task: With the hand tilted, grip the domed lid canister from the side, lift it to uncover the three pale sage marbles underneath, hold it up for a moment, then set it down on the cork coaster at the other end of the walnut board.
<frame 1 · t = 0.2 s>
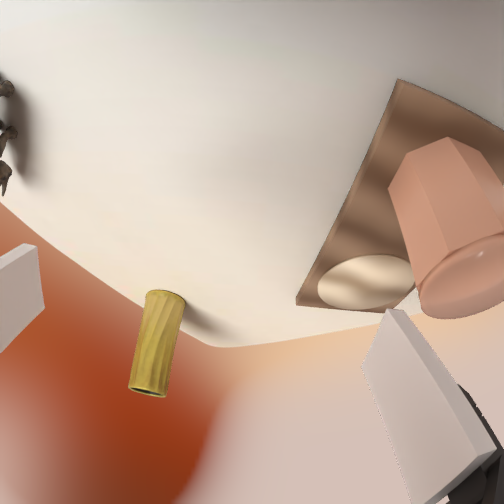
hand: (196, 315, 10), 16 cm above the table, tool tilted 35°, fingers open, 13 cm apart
rhino figurine: (6, 124, 20), on the table
board: (396, 233, 29), on the table
coaster: (367, 284, 34), resting on board
domed lid canister: (439, 184, 21), point 1 cm above the table, touching board
vase: (166, 298, 44), on the table
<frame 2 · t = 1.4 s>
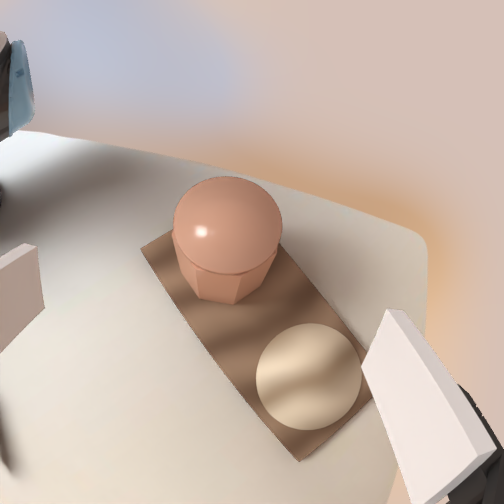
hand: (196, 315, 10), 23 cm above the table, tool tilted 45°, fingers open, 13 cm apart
board: (264, 322, 34), on the table
coaster: (311, 377, 31), resting on board
domed lid canister: (223, 263, 35), point 1 cm above the table, touching board
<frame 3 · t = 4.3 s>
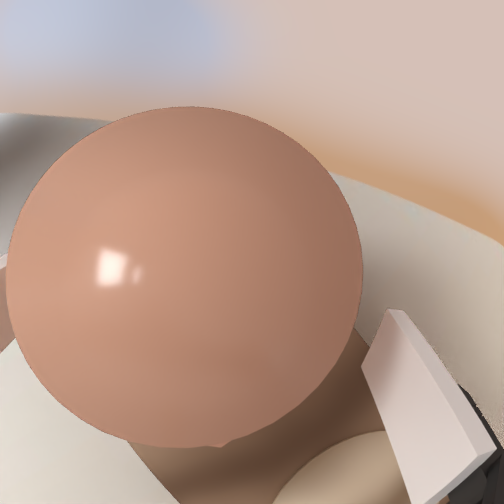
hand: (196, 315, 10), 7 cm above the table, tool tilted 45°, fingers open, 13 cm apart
board: (281, 434, 15), on the table
domed lid canister: (194, 321, 16), point 1 cm above the table, touching board
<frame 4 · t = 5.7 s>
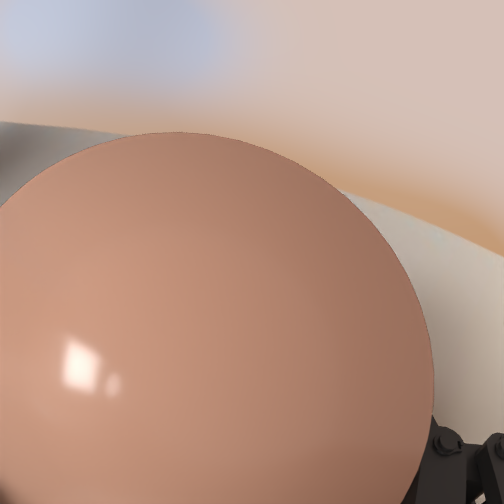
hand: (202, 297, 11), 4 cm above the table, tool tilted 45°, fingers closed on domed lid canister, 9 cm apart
domed lid canister: (193, 382, 13), point 1 cm above the table, touching board, gripper
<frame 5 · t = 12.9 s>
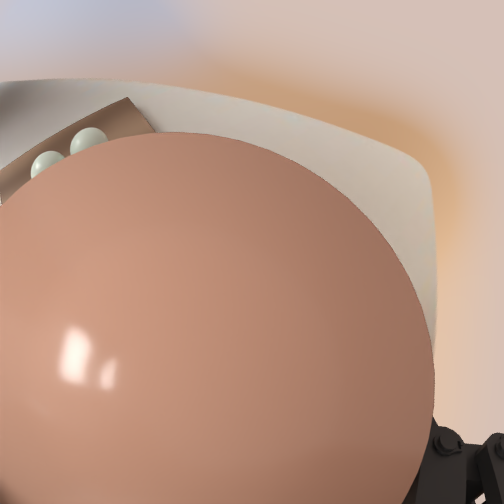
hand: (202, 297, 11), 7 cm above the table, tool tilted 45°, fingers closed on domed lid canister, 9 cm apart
board: (126, 272, 18), on the table
domed lid canister: (193, 382, 13), point 4 cm above the table, touching gripper
marble c: (49, 171, 18), point 3 cm above the table, touching board
marble b: (89, 147, 19), point 3 cm above the table, touching board
when the fingers open (6 cm above the table, at t = 13.7 s): domed lid canister drops 1 cm, resting on coaster.
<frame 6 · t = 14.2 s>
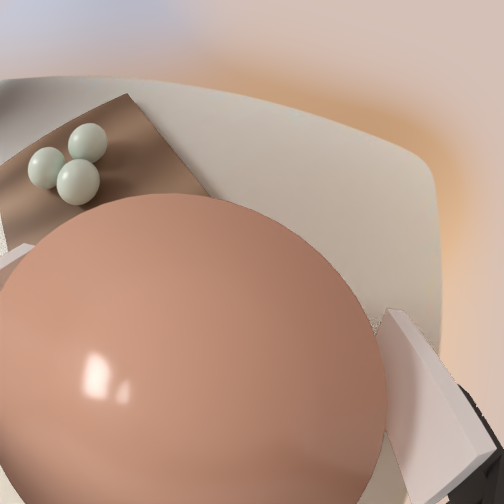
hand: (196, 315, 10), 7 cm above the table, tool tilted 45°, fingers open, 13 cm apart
board: (124, 270, 18), on the table
marble a: (78, 182, 17), point 3 cm above the table, touching board
domed lid canister: (193, 391, 14), point 2 cm above the table, touching coaster
marble c: (46, 168, 17), point 3 cm above the table, touching board
marble b: (87, 143, 18), point 3 cm above the table, touching board
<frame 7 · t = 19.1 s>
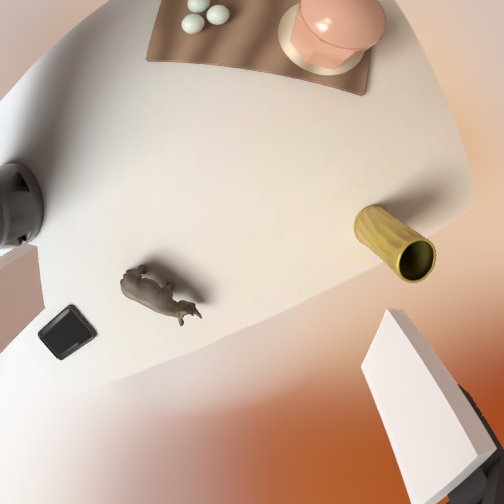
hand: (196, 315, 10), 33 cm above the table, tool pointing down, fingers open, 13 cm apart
rhino figurine: (165, 288, 47), on the table
board: (263, 27, 33), on the table
marble a: (218, 14, 30), point 3 cm above the table, touching board
coaster: (322, 36, 32), resting on board
domed lid canister: (325, 38, 32), point 2 cm above the table, touching coaster
vase: (372, 225, 43), on the table
marble c: (193, 23, 30), point 3 cm above the table, touching board
marble b: (198, 3, 29), point 3 cm above the table, touching board
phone: (66, 332, 51), on the table
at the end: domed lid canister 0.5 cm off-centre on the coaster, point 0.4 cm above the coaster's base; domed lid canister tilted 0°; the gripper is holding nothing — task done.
